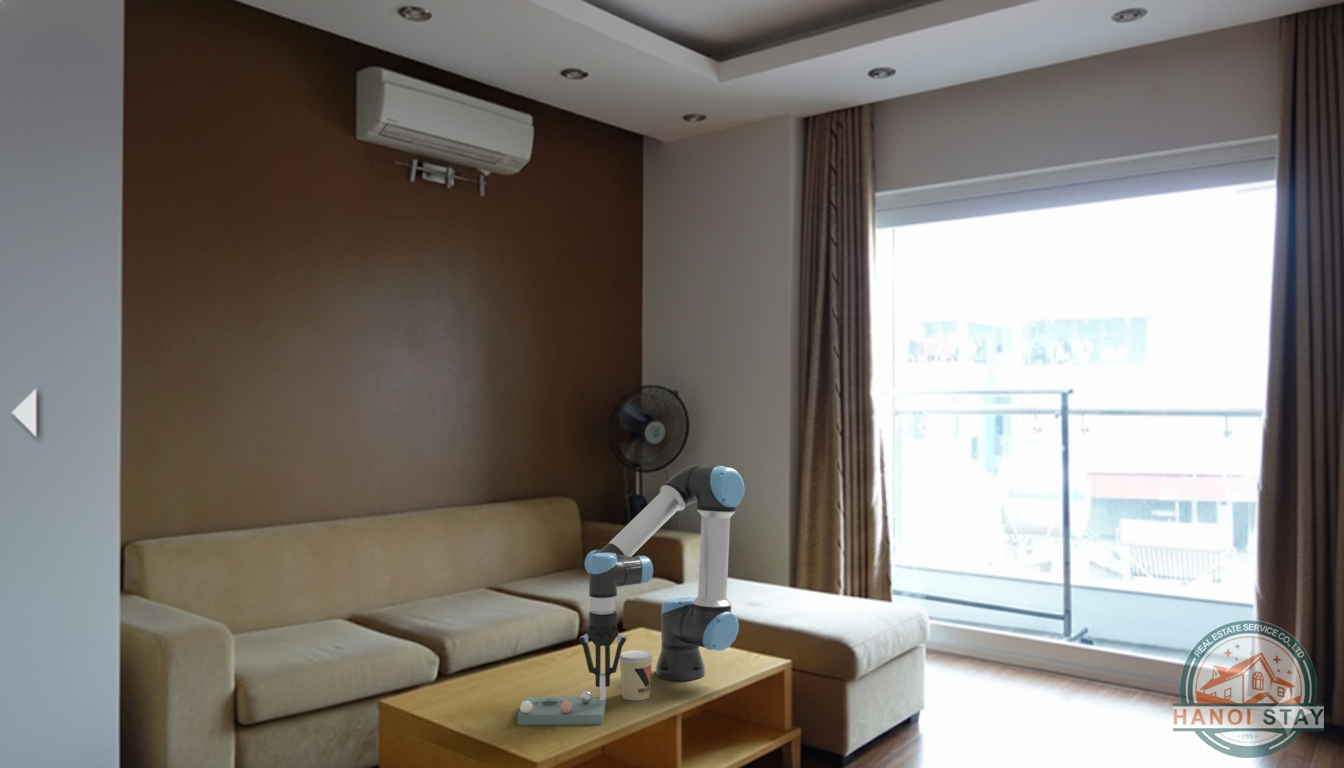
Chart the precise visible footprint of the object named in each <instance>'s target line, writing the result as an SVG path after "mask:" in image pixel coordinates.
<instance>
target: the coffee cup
mask: <svg viewBox="0 0 1344 768" xmlns="http://www.w3.org/2000/svg"><path fill="white" fill-rule="evenodd" d="M652 660H653V655H652V653H651V652H650V651H647V650H640V649H633V650H631V649H630V650H625V651H623V652H621V653H620V657H619V666H620V667H619V668H620V680H621V681H620V684H621V696H622V698H623V699H624V700H628V701H643V700H647V699H649V697H650V693H651V690H650V689H651V678H652V677H651V675H652Z"/></svg>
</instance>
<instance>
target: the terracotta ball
mask: <svg viewBox="0 0 1344 768" xmlns="http://www.w3.org/2000/svg"><path fill="white" fill-rule="evenodd" d="M560 709H561V711H562V712H563V713H569V712H570V711H571V710H572V703H571V702H570V701H567V700H566V701H563V702H562V703H561V705H560Z"/></svg>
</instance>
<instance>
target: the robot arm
mask: <svg viewBox="0 0 1344 768" xmlns="http://www.w3.org/2000/svg"><path fill="white" fill-rule="evenodd" d="M744 497H745V483H744V479H743V478H742V476H741V474H740V473H739V472H738V471H737V470H736V469H734V468H732V467H728V466H723V465H706V464H705V465H704V464H694V465H689V466H687V467H685V468H683V469H682V470H680V471H679V472H677V473H675V474H673V476H672V477H671V478H670V479H668V480H667V481H666V482H665V483H664V484H663V485H661V487H660V491H659V493H658V495H656V496H655V497H654V498H653V499H652V500H651V501H650V502H649V503H648V504H647V505H646V506H645V507H644V508H643V509H642V510H641V511H640V512H639V513H638V514H637V515H635V517H633V519H632V520H630V521H629V522H628V523H627V525H625V527H624V528H623V529H621V530H620V532H618V533H617V534H616V535H615V536H614V537H613V538H612V539H611V540H610V541H609V542H608V543H607V544H606V545H605V546H604V547H603V548H602V549H594V550H591V551H590V552H588V553H587V555H586V557H585V559H584V569H585V571H586V572H587V574H588V589H589V591H588V592H589V593H588V594H589V595H588V610H589V611H590V612H589V613H588V629H587V631H586V633H585V634H583V635H581V636H580V637H579V640H578V641H579V643H580V644H581V646H582V648H583V652H584V656H585V659H586V660H585V662H586V664H587V668H588V672H589V673H590V674H594V675H595V686H596V687H597V688H599V697H600V700H605V699H606V700H607V688H608V687H610V684H611V674H615V673H616V672H617V670H618V665H619V663H620V659H619V657H620V655H621V653H622V649H623V646H624V644H625V643H626V641H627V636H626V635H622V633H620V632H619V629H618V626H617V625H618V620H617V619H618V616H617V615H618V614H617V611H616V610H617V608H618V607H617V606H618V601H617V599H618V598H617V597H618V588H619V587H626V586H633V585H634V586H635V585H641V584H644V583H648V582H650V581H651V579H652V578H653V574H654V565H653V563H652V559H650V557H648V556H646V555H636V556H633V555H634V554H636V552H637V551H639V549H640V548H641V547H643V545H644V544H645V543H646V542H648V540H650V538H651V537H652V536H654V535H655V534H656V532H657V531H658V530H659V529H660V528H662V526H663V525H664V524H666V523H667V522H668V520H669V519H671V518H672V517H673V516H674V515H675V514H676V512H679V511H683V510H684V509H685V508H686V507H687V506H689V505H691V504H695V503H696V511H697V512H698V513H699V514H700V516H701V520H700V522H701V523H700V527H701V528H700V545H699V548H700V549H699V563H698V564H699V565H698V566H699V567H698V568H699V570H698V572H699V573H698V586H697V587H698V589H697V590H698V591H697V597H691V596H690V597H676V598H672V599H667V600H665V601H663V602H662V604H661V612H660V619H661V620H660V626H661V627H660V628H661V629H660V631H661V635H660V636H661V650H660V652H659V655H658V659H657V662H656V665H655V674H656V676H657V677H659V678H661V679H663V680H668V681H692V680H693V681H694V680H697V679H700V678H702V677H704V676H705V675H706V666H705V664H704V663H705V662H704V660H703V657H702V654H701V650H700V647H701V648H703V649H706V650H709V651H717V652H721V651H722V652H723V651H724V650H726V649H728V648H730V647H731V645H732V644H733V643H734V642H735V641H736V638H737V636H738V634H739V625H740V624H739V620H738V618H737V616H736V615H735V614H734V613H733V612H732V602H731V601H730V600H729V599H728V598H727V597H728V576H729V575H728V573H729V553H730V552H729V550H730V549H729V548H730V528H731V517H732V516H733V515H735V513H737V512H736V508H737V506H738V505H740V504H741V503H742V500H743V499H744ZM589 639H590V641H591V642H592V644H593V645H594V646H595V648H594V649H595V667H594V662H593V659H592V658H593V657H592V654H591V651H590V646H589V642H590V641H589ZM615 640H616V641H617V645H616V651H615V654H614V655H615V656H614V659H613V663H612V667H611V645H613V643H614V641H615ZM601 647H604V652H605V653H604V672H601V663H602V662H601V659H602V657H601V655H602V654H601V651H602V650H601V649H602V648H601Z"/></svg>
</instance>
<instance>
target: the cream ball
mask: <svg viewBox="0 0 1344 768" xmlns="http://www.w3.org/2000/svg"><path fill="white" fill-rule="evenodd" d="M519 709H521V711H522V712H523V713H529V712H531V710H532V703H531V702H530V701H525V700H523V701H522V702H521V704H520V705H519Z"/></svg>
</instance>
